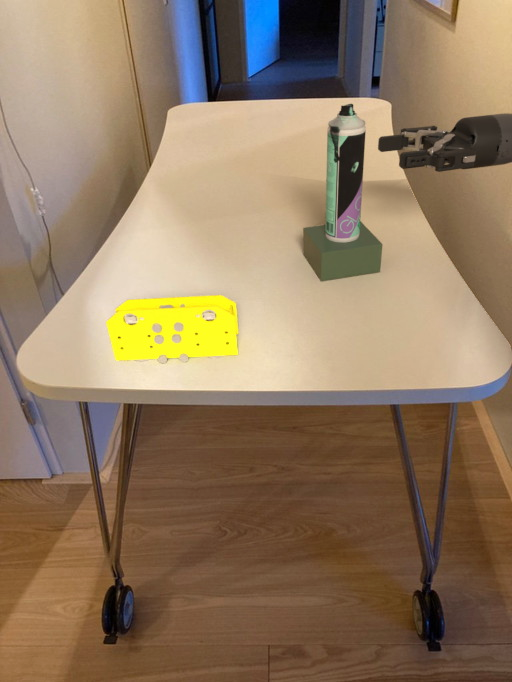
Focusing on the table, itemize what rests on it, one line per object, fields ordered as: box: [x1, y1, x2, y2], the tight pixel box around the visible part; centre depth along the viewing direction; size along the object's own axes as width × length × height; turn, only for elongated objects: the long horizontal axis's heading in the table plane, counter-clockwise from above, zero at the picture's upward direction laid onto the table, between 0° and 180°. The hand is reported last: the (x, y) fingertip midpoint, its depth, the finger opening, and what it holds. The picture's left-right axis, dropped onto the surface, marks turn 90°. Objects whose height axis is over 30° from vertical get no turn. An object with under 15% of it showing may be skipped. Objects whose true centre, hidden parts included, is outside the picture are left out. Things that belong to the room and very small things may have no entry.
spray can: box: [325, 103, 367, 242], centre depth 83 cm, size 6×6×20 cm
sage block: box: [302, 220, 383, 282], centre depth 90 cm, size 10×10×5 cm
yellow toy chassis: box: [105, 294, 240, 364], centre depth 71 cm, size 16×6×8 cm, turn 91°
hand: (389, 152), depth 83 cm, fingers open, 8 cm apart
